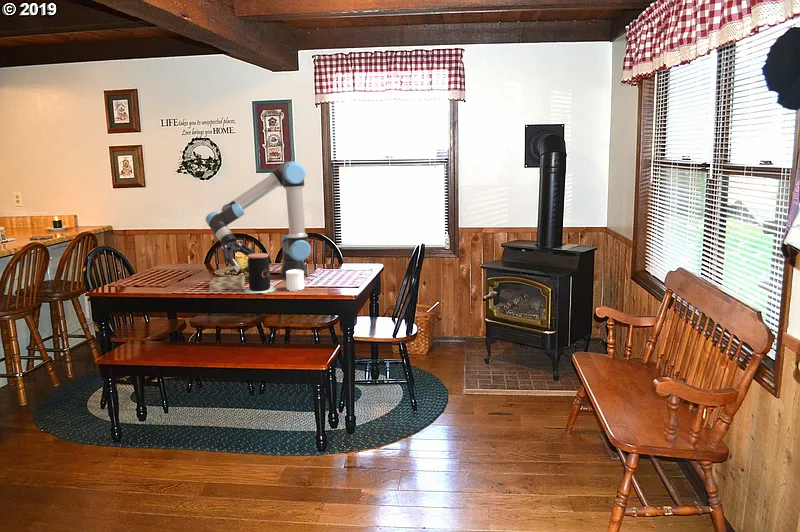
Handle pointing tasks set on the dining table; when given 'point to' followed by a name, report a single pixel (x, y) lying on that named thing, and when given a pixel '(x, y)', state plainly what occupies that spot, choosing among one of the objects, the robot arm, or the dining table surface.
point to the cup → (294, 280)
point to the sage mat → (260, 291)
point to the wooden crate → (227, 283)
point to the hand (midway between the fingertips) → (248, 268)
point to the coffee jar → (259, 272)
